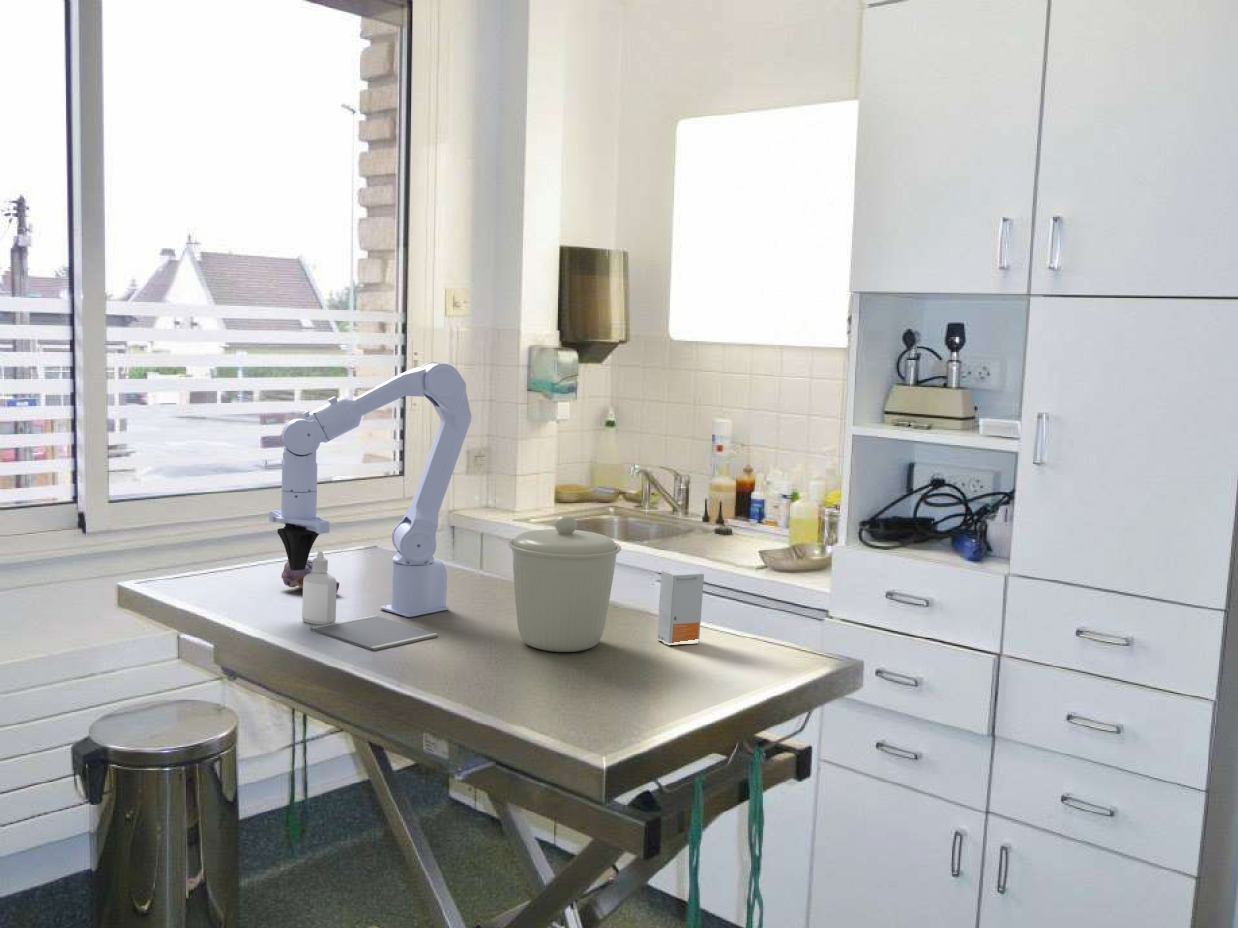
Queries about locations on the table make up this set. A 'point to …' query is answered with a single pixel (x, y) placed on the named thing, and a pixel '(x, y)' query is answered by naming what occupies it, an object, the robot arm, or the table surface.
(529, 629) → the canister
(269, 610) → the table surface
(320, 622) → the eye dropper bottle
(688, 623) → the skincare box
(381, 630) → the mat
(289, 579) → the skull
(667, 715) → the table surface
